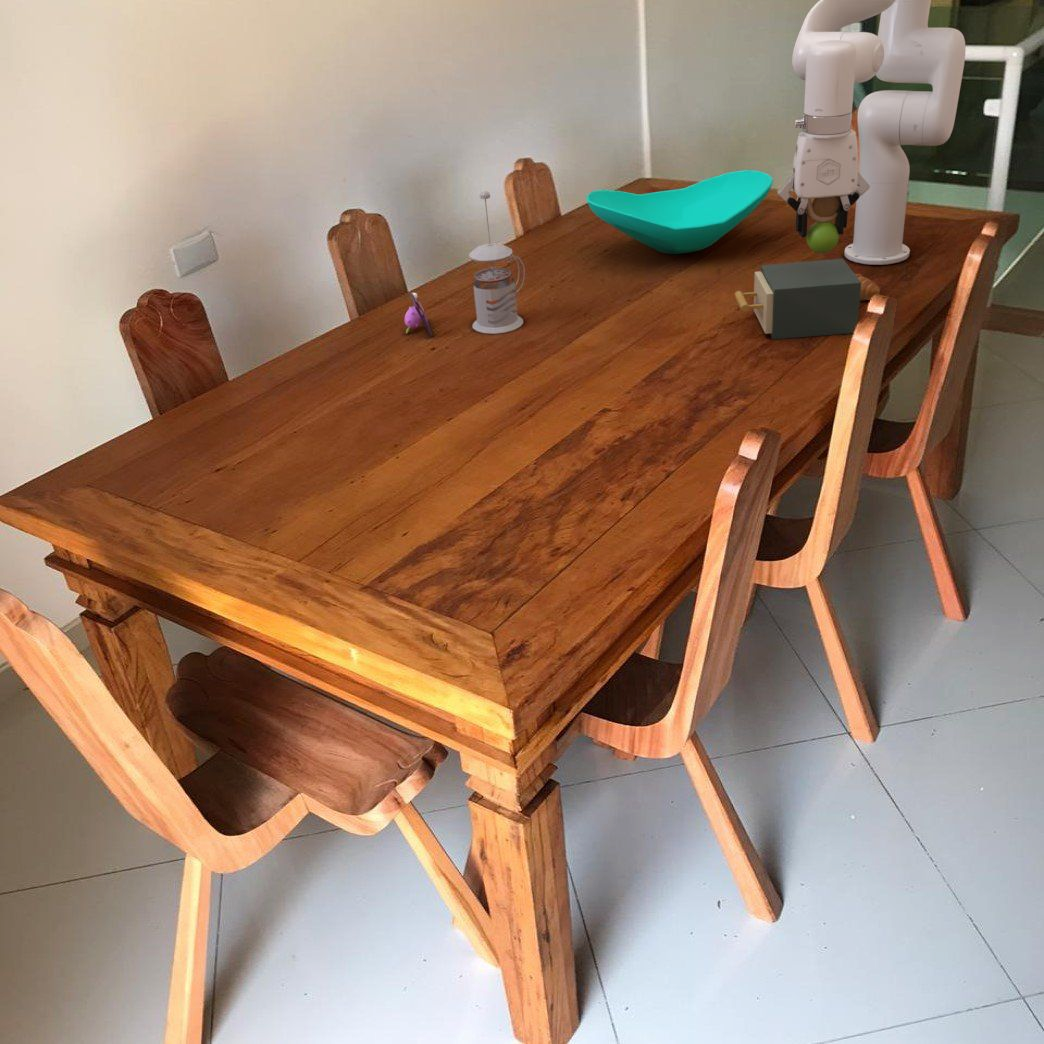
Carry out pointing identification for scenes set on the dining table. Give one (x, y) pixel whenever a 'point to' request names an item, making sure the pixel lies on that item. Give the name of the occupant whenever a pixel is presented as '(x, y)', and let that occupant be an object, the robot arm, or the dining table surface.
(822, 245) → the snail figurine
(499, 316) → the french press
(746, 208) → the table top decor
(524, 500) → the dining table surface
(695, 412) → the dining table surface
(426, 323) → the purple plush toy
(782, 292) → the cabinet
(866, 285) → the pastry
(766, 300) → the drawer
